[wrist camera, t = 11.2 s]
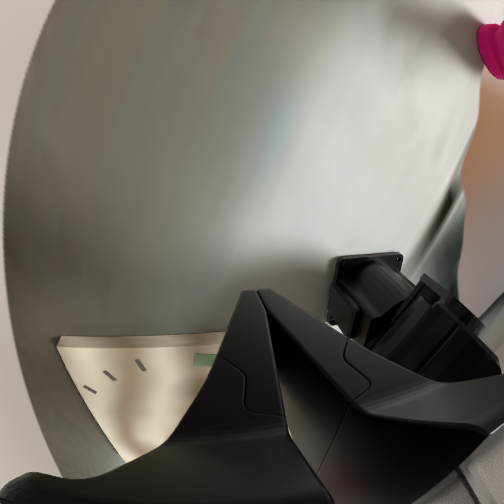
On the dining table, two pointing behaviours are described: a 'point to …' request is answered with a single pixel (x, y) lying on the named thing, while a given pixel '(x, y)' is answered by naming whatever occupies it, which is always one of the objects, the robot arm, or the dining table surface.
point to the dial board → (139, 383)
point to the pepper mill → (492, 48)
